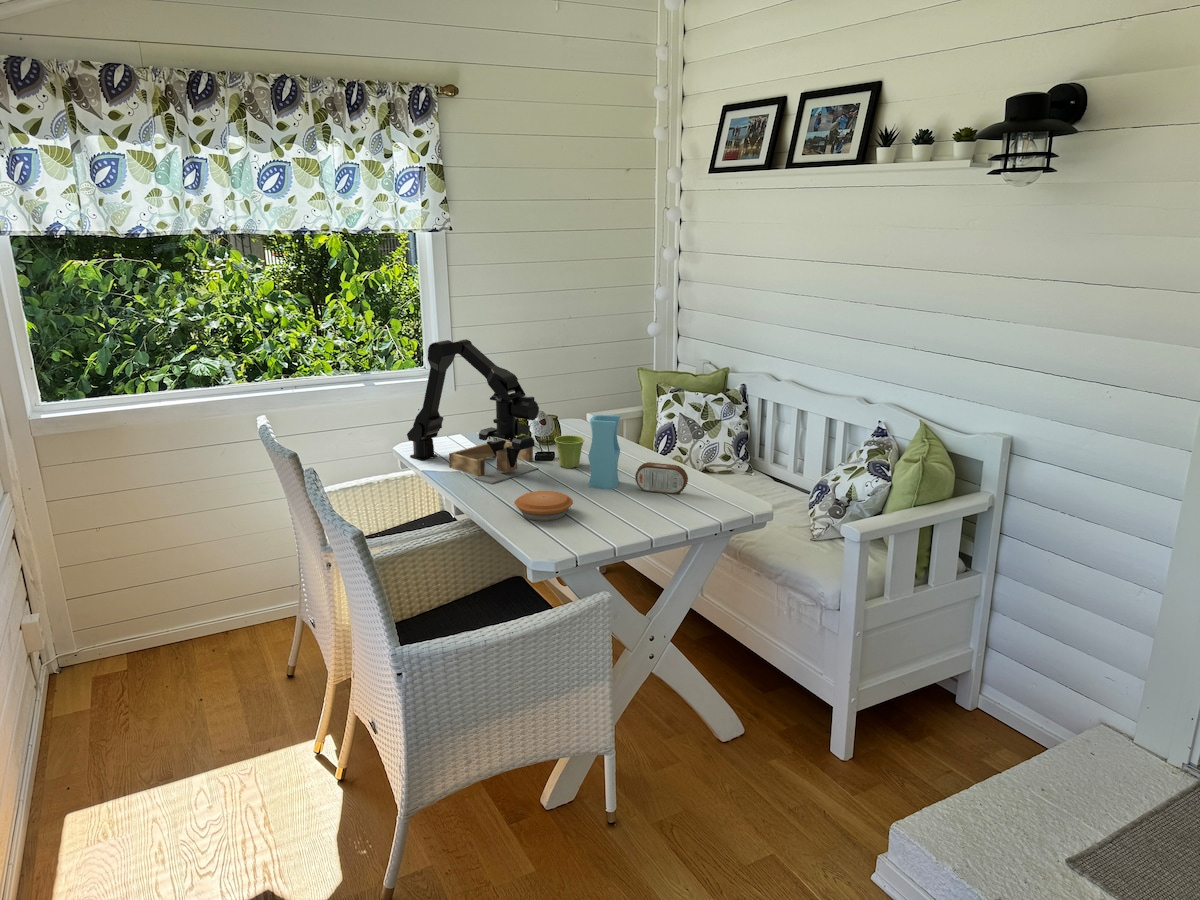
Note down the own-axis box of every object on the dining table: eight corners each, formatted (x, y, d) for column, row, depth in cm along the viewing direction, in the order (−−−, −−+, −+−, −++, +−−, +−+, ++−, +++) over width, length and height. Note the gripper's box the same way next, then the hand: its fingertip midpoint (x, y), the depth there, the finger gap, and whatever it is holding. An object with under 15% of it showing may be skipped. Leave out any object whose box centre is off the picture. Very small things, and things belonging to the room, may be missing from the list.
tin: (687, 493, 252) (688, 465, 250) (685, 496, 249) (686, 468, 247) (636, 488, 256) (637, 460, 253) (634, 491, 253) (634, 463, 250)
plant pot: (586, 462, 281) (586, 435, 278) (582, 470, 272) (582, 443, 269) (557, 461, 282) (556, 434, 279) (552, 469, 273) (552, 442, 270)
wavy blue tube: (614, 489, 255) (615, 422, 249) (588, 487, 256) (588, 420, 251) (619, 480, 262) (620, 415, 257) (593, 479, 264) (594, 414, 258)
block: (496, 469, 267) (496, 450, 266) (507, 466, 270) (506, 447, 269) (507, 472, 265) (506, 453, 263) (517, 469, 268) (517, 450, 266)
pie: (542, 500, 245) (542, 483, 244) (584, 513, 236) (584, 495, 234) (502, 515, 234) (502, 497, 232) (545, 528, 224) (545, 510, 223)
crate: (448, 467, 274) (448, 451, 272) (501, 452, 290) (501, 437, 289) (480, 476, 265) (480, 460, 263) (532, 460, 282) (532, 445, 280)
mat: (474, 479, 263) (474, 477, 263) (522, 464, 277) (522, 463, 277) (491, 484, 258) (491, 482, 258) (538, 469, 273) (538, 467, 273)
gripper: (547, 415, 263) (547, 465, 267) (503, 406, 274) (504, 454, 279) (520, 422, 255) (521, 474, 259) (476, 412, 266) (478, 461, 271)
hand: (506, 465), depth 267 cm, fingers closed on block, 4 cm apart
